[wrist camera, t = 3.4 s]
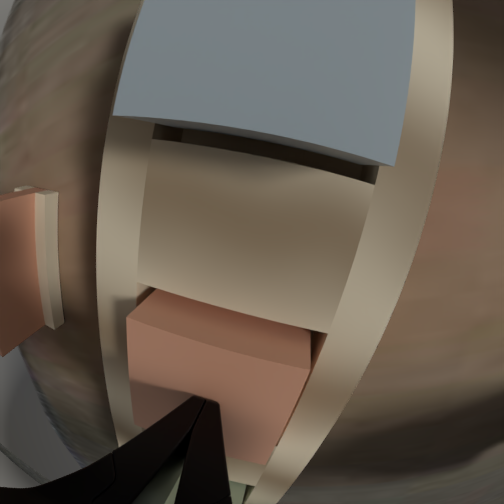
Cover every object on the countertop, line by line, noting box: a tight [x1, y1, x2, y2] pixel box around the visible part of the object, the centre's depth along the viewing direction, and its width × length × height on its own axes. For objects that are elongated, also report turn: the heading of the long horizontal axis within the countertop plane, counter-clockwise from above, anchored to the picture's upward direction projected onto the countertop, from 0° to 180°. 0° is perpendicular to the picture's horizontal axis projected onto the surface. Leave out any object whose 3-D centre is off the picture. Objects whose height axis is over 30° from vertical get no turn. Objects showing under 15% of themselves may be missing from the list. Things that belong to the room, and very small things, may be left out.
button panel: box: [96, 0, 453, 504], centre depth 11 cm, size 28×9×4 cm, turn 168°
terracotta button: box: [126, 288, 311, 465], centre depth 9 cm, size 5×5×3 cm
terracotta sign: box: [0, 186, 64, 357], centre depth 12 cm, size 8×3×5 cm, turn 168°
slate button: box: [113, 0, 416, 167], centre depth 5 cm, size 5×5×3 cm
